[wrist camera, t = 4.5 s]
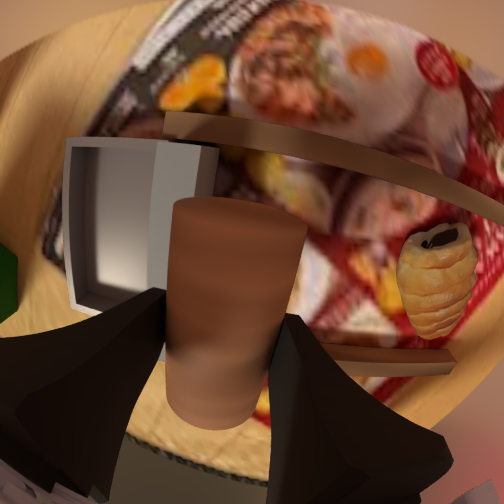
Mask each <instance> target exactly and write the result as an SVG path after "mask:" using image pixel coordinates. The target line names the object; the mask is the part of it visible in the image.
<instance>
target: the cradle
mask: <svg viewBox="0 0 504 504" xmlns="http://www.w3.org/2000/svg"><path fill="white" fill-rule="evenodd" d="M158 141H160V142H172V143H182V142H178V141H169V140H157V139H142V138H122V137H66V144H65V154H64V167H63V189H62V221H63V243H64V257H65V267H66V276H67V284H68V291H69V298H70V304H71V308H72V309H75V310H78V311H80V312H83V313H86V314H89V315H92V316H95V315H97V314H100V313H102V312H104V311H106V310H108V309H111V308H113V307H115V306H117V305H119V304H121V303H123V302H125V301H126V300H128V299H130V298H132V297H134V296H136V295H138V294H140V293H142V292H144V291H146V290H147V252H148V231H149V215H150V203H151V192H152V182H153V173H154V165H155V157H156V150H157V143H158Z"/></svg>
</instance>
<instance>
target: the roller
mask: <svg viewBox="0 0 504 504" xmlns="http://www.w3.org/2000/svg"><path fill="white" fill-rule="evenodd" d="M307 230H308V226H307V224H306V223H305V222H304V221H303V220H302V219H300V218H298V217H296V216H295V215H292V214H290V213H288V212H285V211H283V210H280V209H277V208H274V207H270V206H267V205H263V204H259V203H255V202H250V201H245V200H239V199H232V198H223V197H189V198H183V199H180V200H177V201H176V202H174V204H173V211H172V220H171V231H170V242H169V255H168V270H167V289H166V318H165V371H166V396H167V400H168V403H169V405H170V407H171V409H172V410H173V411H174V413H175V414H176V415H177V416H178V417H180V418H181V419H182V420H184V421H185V422H187V423H189V424H191V425H193V426H195V427H198V428H202V429H207V430H225V429H230V428H233V427H236V426H238V425H240V424H242V423H244V422H245V421H246V420H248V419H249V417H250V416H251V415H252V414H253V412H254V410H255V408H256V405H257V402H258V399H259V396H260V393H261V390H262V387H263V384H264V381H265V378H266V375H267V372H268V369H269V365H270V362H271V359H272V355H273V352H274V349H275V346H276V343H277V339H278V336H279V333H280V329H281V326H282V323H283V319H284V316H285V313H286V309H287V306H288V302H289V299H290V295H291V291H292V288H293V284H294V281H295V277H296V273H297V269H298V266H299V262H300V258H301V254H302V250H303V246H304V242H305V239H306V235H307Z"/></svg>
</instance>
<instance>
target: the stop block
mask: <svg viewBox="0 0 504 504" xmlns="http://www.w3.org/2000/svg"><path fill="white" fill-rule="evenodd" d="M219 152H220V148H215V147H208V146H200V145H191V144H182V143H172V142H160V141H158V143H157V150H156V157H155V165H154V173H153V182H152V192H151V203H150V215H149V231H148V252H147V289H150V288H152V287H156V288H160V289H165V290H166V289H167V270H168V255H169V242H170V231H171V220H172V211H173V204H174V202H176V201H177V200H180V199H183V198H189V197H212V196H213V190H214V183H215V177H216V170H217V164H218V158H219ZM158 360H159V361H163V362H165V343H164V346H163V349H162V352H161V354H160V357H159V359H158Z"/></svg>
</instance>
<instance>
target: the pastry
mask: <svg viewBox="0 0 504 504" xmlns="http://www.w3.org/2000/svg"><path fill="white" fill-rule="evenodd" d="M477 263H478V255H477V252H476V250H475V248H474V246H473V244H472V237H471V234H470V232H469V228H468V226H467V225H466V224H464V223H462V222H458V223H452V224H448V223H443V224H439V225H437V226H436V227H434V228H432V229H431V230H429V231H428V232H418V233H416V234H413V235H411V236H410V237H409V238H408V239H407V240H406V242H405V243H404V245H403V248H402V251H401V254H400V257H399V260H398V263H397V268H396V276H397V284H398V287H399V290H400V294H401V298H402V303H403V306H404V308H405V310H406V313H407V315H408V317H409V320H410V323H411V324H412V326H413V328H414V329H415V331H416V333H417V335H419V336H420V337H422V338H424V339H428V340H431V339H434V338H438V337H439V336H446V335H448V334H449V333H450V332H451V330H452V329H453V328H454V327H455V326H456V325H457V323H458V321H459V319H460V317H461V315H462V314H463V313H465V308H466V303H467V302H468V301H469V300H470V299H471V297H472V293H471V289H472V287H473V286H474V285H475V283H476V275H475V273H474V271H473V270H474V268H475V266H476V264H477Z"/></svg>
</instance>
